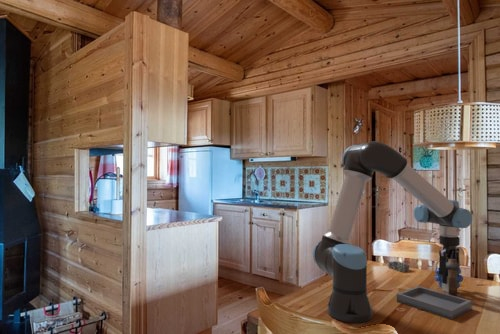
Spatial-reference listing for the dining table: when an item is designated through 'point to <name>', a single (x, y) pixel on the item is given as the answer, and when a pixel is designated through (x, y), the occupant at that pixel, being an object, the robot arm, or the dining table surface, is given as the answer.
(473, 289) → the dining table surface
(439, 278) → the grapes
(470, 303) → the holder tray
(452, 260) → the post
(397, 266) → the egg carton
